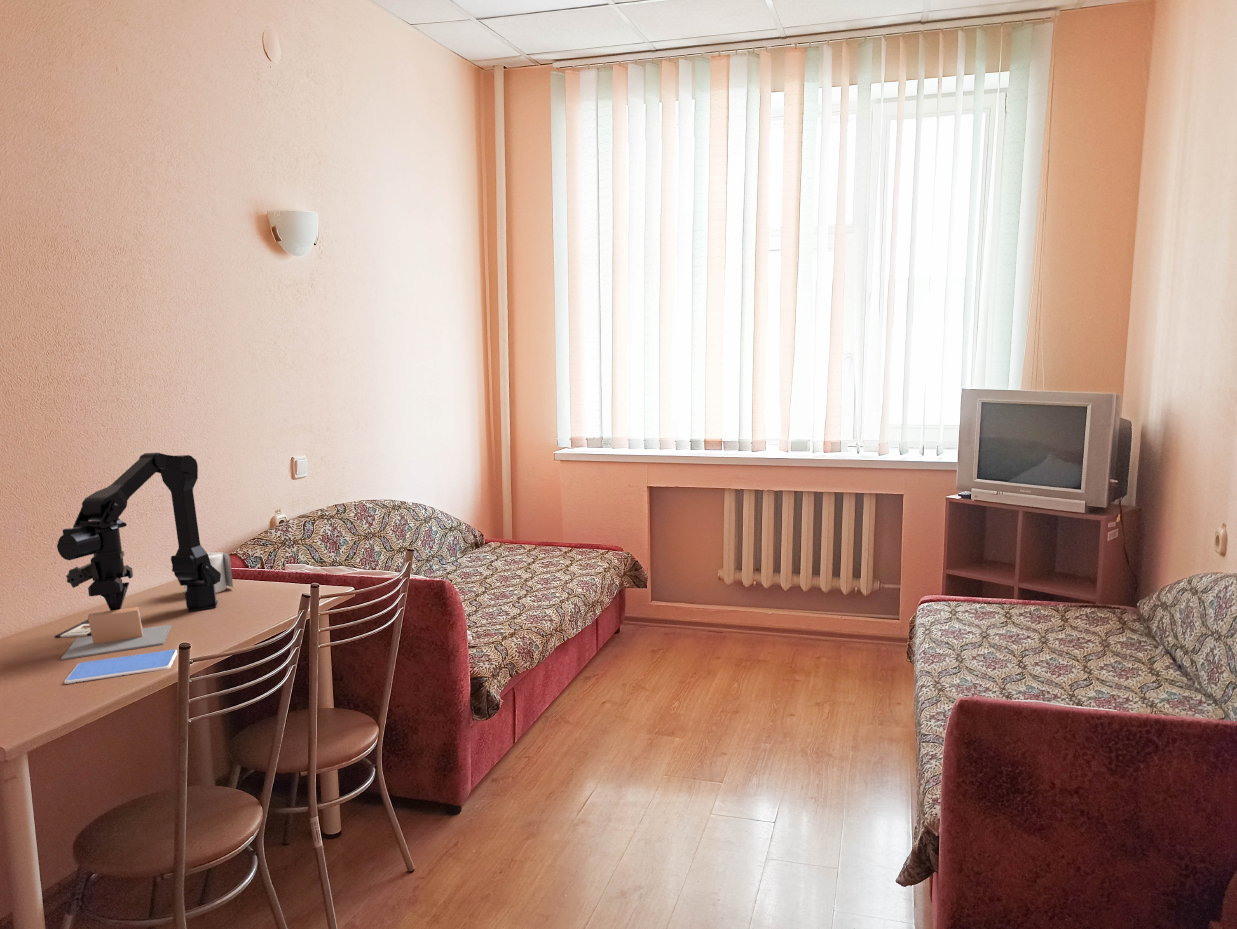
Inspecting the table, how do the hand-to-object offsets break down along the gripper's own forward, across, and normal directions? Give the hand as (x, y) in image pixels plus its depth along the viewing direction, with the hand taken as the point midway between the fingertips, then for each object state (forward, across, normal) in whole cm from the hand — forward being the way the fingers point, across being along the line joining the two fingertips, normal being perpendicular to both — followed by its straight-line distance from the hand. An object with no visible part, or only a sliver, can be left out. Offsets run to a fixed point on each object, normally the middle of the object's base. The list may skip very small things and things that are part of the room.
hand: (116, 616), depth 208 cm
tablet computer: (+6, +23, +4) cm, 24 cm away
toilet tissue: (+6, -41, +16) cm, 44 cm away
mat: (+6, +1, 0) cm, 6 cm away
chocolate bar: (+6, -19, -8) cm, 22 cm away
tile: (+5, 0, 0) cm, 5 cm away
